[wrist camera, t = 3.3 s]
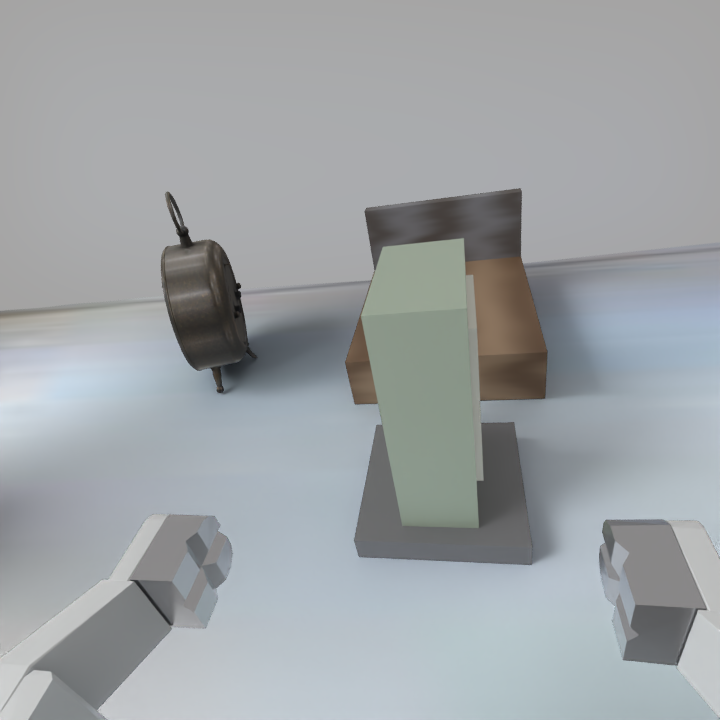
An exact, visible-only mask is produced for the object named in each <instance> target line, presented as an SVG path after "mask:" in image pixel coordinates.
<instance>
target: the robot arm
mask: <svg viewBox="0 0 720 720" xmlns="http://www.w3.org/2000/svg"><path fill="white" fill-rule="evenodd" d="M219 527H220V524H219V522H218V520H217V519H216V517H215V516H199V515H174V514H152V515H151V516H150V517H149V518H147V519H146V520H145V522H144V523H143V525H142V526H141V528H140V529H139V531H138V533H137V534H136V536H135V537H134V539H133V541H132V542H131V544H130V545H129V547H128V549H127V550H126V552H125V553H124V555H123V556H122V558H121V560H120V561H119V563H118V564H117V566H116V568H115V569H114V571H113V572H112V574H111V576H110V577H109V579H102V580H101V581H100V582H98V583H97V584H96V585H95V586H93V587H92V588H91V589H89V590H88V591H87V592H85V593H84V594H83V595H82V596H80V597H79V598H78V599H76V600H75V601H74V602H72V603H71V604H70V605H69V606H67V607H66V608H65V609H63V610H62V611H61V612H59V613H58V614H57V615H56V616H54V617H53V618H52V619H50V620H49V621H48V622H47V623H45V624H44V625H43V626H41V627H40V628H39V629H37V630H36V631H35V632H34V633H32V634H31V635H30V636H28V637H27V638H26V639H24V640H23V641H22V642H21V643H19V644H18V645H17V646H15V647H14V648H13V649H11V650H10V651H9V652H8V653H6V654H5V655H4V656H2V657H1V658H0V720H107V719H106V718H105V717H104V716H103V715H101V714H100V713H99V712H98V711H97V710H98V708H99V707H100V706H101V705H102V704H103V703H104V702H105V701H106V700H107V699H108V698H109V697H110V696H111V694H112V693H113V692H114V691H115V690H116V689H117V688H118V687H119V686H120V685H121V684H122V683H123V681H124V680H125V679H126V678H127V677H128V676H129V675H130V674H131V673H132V672H133V671H134V670H135V668H136V667H137V666H138V665H139V664H140V663H141V662H142V661H143V660H144V659H145V658H146V657H147V656H148V654H149V653H150V652H151V651H152V650H153V649H154V648H155V647H156V646H157V645H158V644H159V643H160V641H161V640H162V639H163V638H164V637H165V636H166V635H167V634H168V633H169V632H170V631H171V630H172V628H171V627H186V628H206V627H207V624H208V622H209V619H210V617H211V615H212V612H213V610H214V607H215V605H216V603H217V600H218V595H217V591H216V588H217V587H218V586H219V585H220V584H221V583H223V582H224V581H225V580H226V578H227V576H228V573H229V570H230V568H231V562H232V554H233V553H232V548H231V543H230V542H229V540H228V538H227V537H226V536H225V535H223V534H222V533H220V532H219V531H218V529H219ZM602 533H603V536H604V540H605V543H604V544H603V545H601V546H600V553H599V563H600V574H601V579H602V584H603V588H604V592H605V596H606V598H607V599H608V600H609V601H610V602H611V603H612V604H613V605H614V606H615V608H614V614H613V620H612V622H613V626H614V630H615V633H616V637H617V641H618V644H619V648H620V652H621V655H622V659H623V660H627V661H637V662H647V663H657V664H667V665H677V669H678V670H679V671H680V673H681V674H682V675H683V676H684V677H685V678H686V680H687V681H688V682H689V683H690V684H691V686H692V687H693V688H694V689H695V690H696V691H697V693H698V694H699V695H700V696H701V697H702V698H703V700H704V701H705V702H706V703H707V704H708V705H709V707H710V708H711V709H712V710H713V711H714V712H715V714H716V715H717V716H718V717H719V718H720V557H719V555H718V553H717V551H716V550H715V548H714V546H713V544H712V542H711V540H710V538H709V536H708V534H707V532H706V530H705V528H704V526H703V525H702V524H701V523H700V522H699V521H694V520H686V521H664V520H605V522H604V523H603V529H602Z"/></svg>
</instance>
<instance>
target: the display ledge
mask: <svg viewBox="0 0 720 720" xmlns="http://www.w3.org/2000/svg"><path fill="white" fill-rule="evenodd" d="M521 201H522V191H521V189H520V188H519V189H512V190H504V191H496V192H489V193H480V194H472V195H465V196H457V197H449V198H441V199H433V200H426V201H418V202H410V203H402V204H395V205H386V206H378V207H371V208H366V210H365V216H366V222H367V228H368V234H369V240H370V246H371V252H372V258H373V264H374V270H376V267H377V264H378V261H379V258H380V254H381V251H382V248H383V247H386V246H395V245H405V244H414V243H423V242H433V241H442V240H451V239H461V238H464V251H465V269H466V275H473V280H474V294H475V308H476V322H477V341H478V364H479V387H480V400H510V399H543V398H545V388H546V370H547V349H546V345H545V342H544V338H543V334H542V331H541V327H540V324H539V320H538V316H537V313H536V309H535V306H534V302H533V298H532V295H531V291H530V288H529V284H528V281H527V277H526V273H525V270H524V266H523V263H522V259H521V205H522V203H521ZM374 273H375V271H374ZM373 276H374V274H373ZM372 279H373V277H372ZM371 283H372V280H371ZM371 283H370V286H371ZM370 286H369V289H370ZM368 292H369V290H368ZM367 295H368V293H367ZM366 298H367V296H366ZM365 301H366V299H365ZM364 305H365V302H364ZM364 305H363V308H364ZM363 308H362V311H363ZM362 311H361V314H362ZM361 314H360V318H359V321H358V324H357V327H356V330H355V333H354V336H353V339H352V342H351V346H350V349H349V352H348V355H347V358H346V361H345V364H346V369H347V373H348V377H349V381H350V386H351V390H352V394H353V399H354V403H355V404H376V403H378V400H377V395H376V390H375V385H374V380H373V375H372V370H371V365H370V360H369V355H368V350H367V345H366V340H365V335H364V329H363V324H362V319H361Z"/></svg>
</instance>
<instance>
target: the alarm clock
mask: <svg viewBox="0 0 720 720" xmlns="http://www.w3.org/2000/svg"><path fill="white" fill-rule="evenodd" d="M165 196H166V202H167V207H168V209H169V211H170V214H171V217H172V219H173V222H174V224H175V226H176V228H177V229H176V232H177V234H178V235H179V237H180V242H181V244H180V245H174V246H167V247H166V248H165V249H164V251H163V253H162V257H161V277H162V287H163V292H164V297H165V302H166V306H167V310H168V314H169V317H170V321H171V324H172V327H173V330H174V333H175V336H176V338H177V341H178V343H179V345H180V348H181V350H182V352H183V354H184V356H185V358H186V360H187V361H188V363H189V364H190V365H191V366H192V367H193V368H194V369H196V370H198V371H201V370H204V369H208V368H211V369H212V371H213V376H214V379H215V382H216V384H217V392H218V393H222V392H223V391H224V388H223V386H222V379H221V370H220V368H221V366H224V365H227V364H232V363H236V362H239V361H240V360H241V359H242V358H243V357H244V355H245V353H246V352H247V353H248V354H249V355H250V356H252V357H253V358H257V356H256V355H255V354H254V353H253V352H252V351H251V350H250V348H249V347H248V346H249V343H248V338H247V331H246V324H245V318H244V313H243V308H242V303H241V299H240V298H241V292H240V291H238V289H240V288H241V285H240V283H236V280H235V277H234V273H233V271H232V267H231V265H230V262H229V259H228V257H227V255H226V253H225V252H224V250H223V249H222V247H221V246H220V245H219V244H217V243H216V242H215V241H212V240H202V241H196V242H192V241H191V239H190V237H189V235H188V229H187V227H185V226H184V222H183V219H182V216H181V214H180V211H179V208H178V206H177V204H176V202H175V200H174V198H173V196H172V195H171V194H170V193H169V192H166V193H165ZM170 200H171V202H172V204H173V206H174V208H175V210H176V212H177V215H178V218H179V221H180V224H181V226H179V224H178V222H177V220H176V217H175V214H174V211H173V208H172V205H171V202H170Z"/></svg>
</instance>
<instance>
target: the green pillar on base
mask: <svg viewBox="0 0 720 720" xmlns="http://www.w3.org/2000/svg"><path fill="white" fill-rule="evenodd" d="M361 319H362V324H363V329H364V335H365V340H366V345H367V350H368V355H369V360H370V365H371V370H372V375H373V380H374V385H375V390H376V395H377V400H378V405H379V410H380V415H381V421H382V425H376V430H375V436H374V441H373V446H372V451H371V456H370V461H369V466H368V472H367V477H366V482H365V487H364V492H363V497H362V503H361V508H360V513H359V518H358V523H357V528H356V533H355V539H354V542H355V545H356V549H357V552H358V555H359V557H371V558H393V559H414V560H436V561H457V562H478V563H500V564H521V565H532V541H531V535H530V528H529V521H528V514H527V507H526V501H525V494H524V487H523V480H522V473H521V467H520V460H519V453H518V446H517V439H516V433H515V426H514V422H508V423H481V410H480V387H479V364H478V341H477V322H476V308H475V294H474V280H473V275H466V269H465V251H464V238H461V239H451V240H442V241H433V242H423V243H414V244H405V245H395V246H386V247H383V248H382V251H381V254H380V258H379V261H378V264H377V267H376V270H375V273H374V276H373V279H372V283H371V286H370V289H369V292H368V295H367V298H366V301H365V305H364V308H363V311H362V314H361Z"/></svg>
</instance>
